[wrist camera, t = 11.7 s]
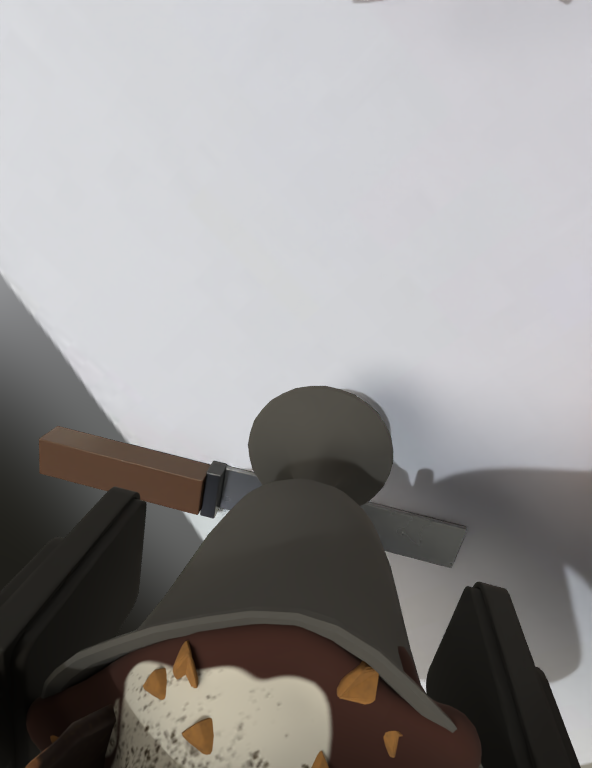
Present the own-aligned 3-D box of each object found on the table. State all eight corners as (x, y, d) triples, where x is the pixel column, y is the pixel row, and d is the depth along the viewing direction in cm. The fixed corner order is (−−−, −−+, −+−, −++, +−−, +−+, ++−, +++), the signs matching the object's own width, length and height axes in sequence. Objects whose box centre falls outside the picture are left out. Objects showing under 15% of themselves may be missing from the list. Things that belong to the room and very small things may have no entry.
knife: (466, 524, 24) (473, 545, 23) (449, 565, 25) (455, 588, 24) (57, 420, 26) (38, 433, 24) (57, 463, 27) (39, 478, 25)
